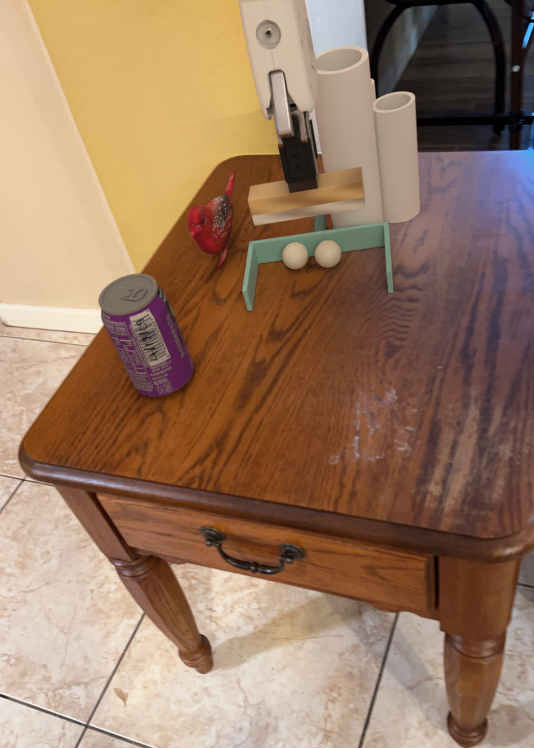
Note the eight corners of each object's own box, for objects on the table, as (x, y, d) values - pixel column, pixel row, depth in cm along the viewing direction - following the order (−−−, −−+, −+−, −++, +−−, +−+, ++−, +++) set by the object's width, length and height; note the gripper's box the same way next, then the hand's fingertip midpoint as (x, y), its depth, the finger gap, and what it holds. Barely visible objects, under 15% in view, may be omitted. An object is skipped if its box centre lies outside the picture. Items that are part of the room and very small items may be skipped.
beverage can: (205, 359, 80) (172, 271, 71) (181, 404, 76) (143, 317, 67) (151, 354, 82) (112, 269, 73) (125, 398, 78) (81, 313, 69)
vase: (349, 248, 87) (326, 80, 72) (322, 223, 92) (295, 61, 77) (427, 211, 89) (421, 39, 73) (397, 189, 93) (385, 23, 78)
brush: (364, 193, 75) (353, 97, 68) (365, 208, 73) (353, 111, 66) (256, 211, 78) (233, 120, 70) (254, 226, 76) (230, 135, 68)
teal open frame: (388, 217, 90) (387, 195, 87) (393, 292, 80) (391, 271, 78) (258, 236, 93) (253, 216, 91) (247, 311, 84) (241, 290, 81)
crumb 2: (341, 245, 86) (338, 233, 83) (343, 270, 86) (340, 259, 83) (316, 248, 87) (312, 237, 84) (317, 273, 86) (313, 263, 83)
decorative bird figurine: (199, 292, 88) (175, 221, 80) (235, 211, 98) (217, 142, 91) (220, 291, 87) (198, 220, 80) (255, 210, 97) (237, 140, 90)
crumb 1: (306, 235, 86) (305, 248, 83) (310, 259, 88) (309, 272, 86) (281, 239, 86) (279, 251, 84) (285, 263, 88) (283, 275, 86)
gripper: (302, -16, 52) (337, 208, 66) (310, -79, 63) (339, 126, 76) (206, 7, 54) (260, 220, 68) (230, -58, 64) (272, 139, 78)
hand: (302, 168), depth 72 cm, fingers closed on brush, 3 cm apart
